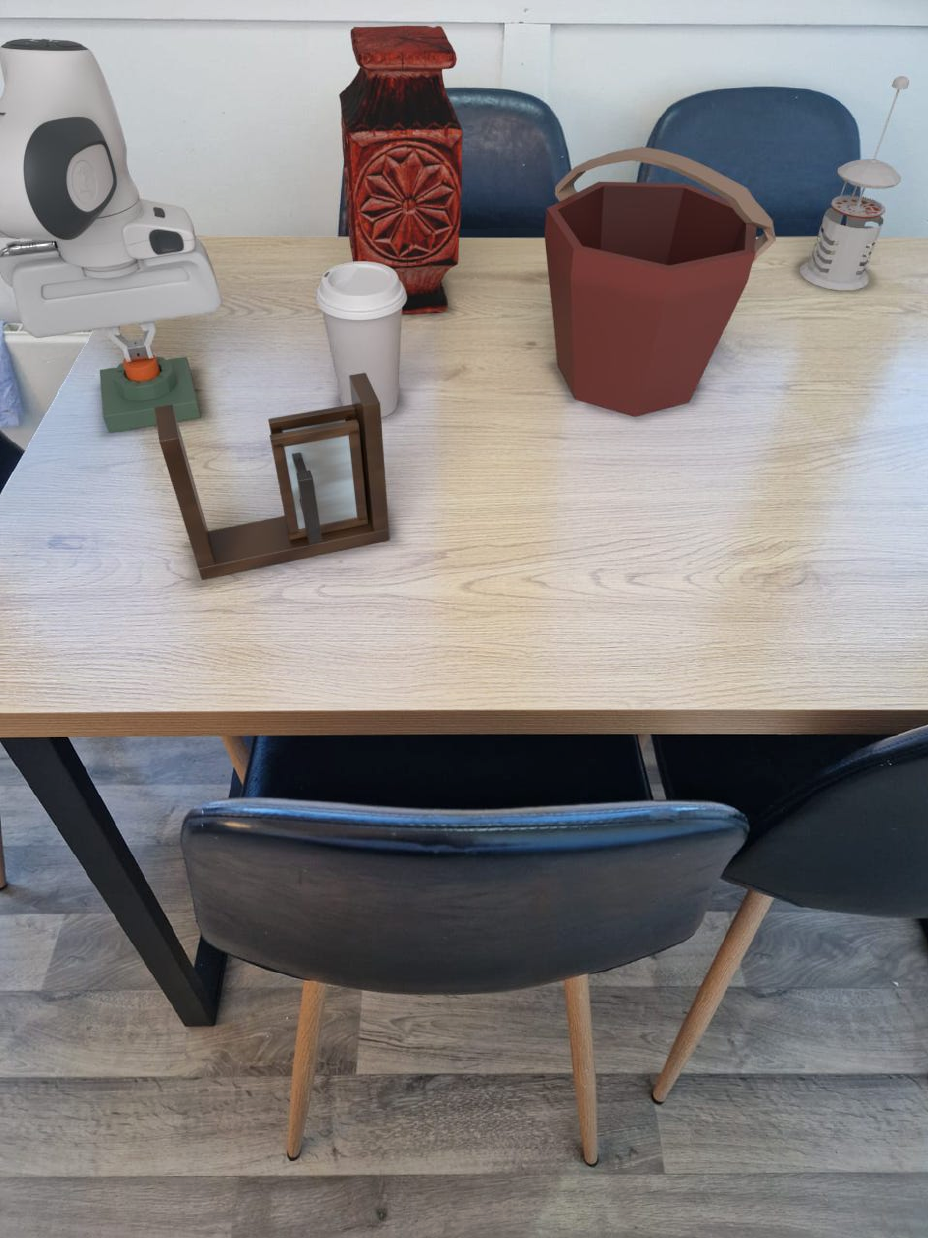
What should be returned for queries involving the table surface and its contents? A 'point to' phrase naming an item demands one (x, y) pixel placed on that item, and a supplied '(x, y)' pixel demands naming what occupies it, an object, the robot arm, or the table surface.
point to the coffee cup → (364, 326)
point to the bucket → (647, 279)
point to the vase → (403, 159)
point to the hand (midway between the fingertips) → (140, 357)
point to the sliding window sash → (320, 479)
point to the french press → (852, 223)
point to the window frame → (270, 536)
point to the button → (141, 369)
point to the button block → (147, 395)
